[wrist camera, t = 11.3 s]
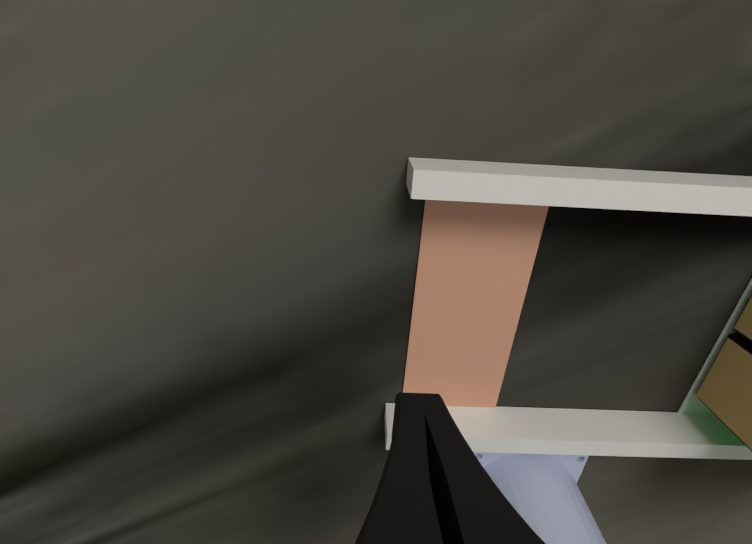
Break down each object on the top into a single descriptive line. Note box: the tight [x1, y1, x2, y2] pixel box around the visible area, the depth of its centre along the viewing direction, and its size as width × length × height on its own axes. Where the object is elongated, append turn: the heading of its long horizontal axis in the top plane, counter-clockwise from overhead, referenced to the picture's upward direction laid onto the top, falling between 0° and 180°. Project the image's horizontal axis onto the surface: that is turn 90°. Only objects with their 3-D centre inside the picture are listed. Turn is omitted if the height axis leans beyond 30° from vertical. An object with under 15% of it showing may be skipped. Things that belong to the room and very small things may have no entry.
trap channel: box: [384, 157, 752, 460], centre depth 21 cm, size 16×31×2 cm, turn 87°
